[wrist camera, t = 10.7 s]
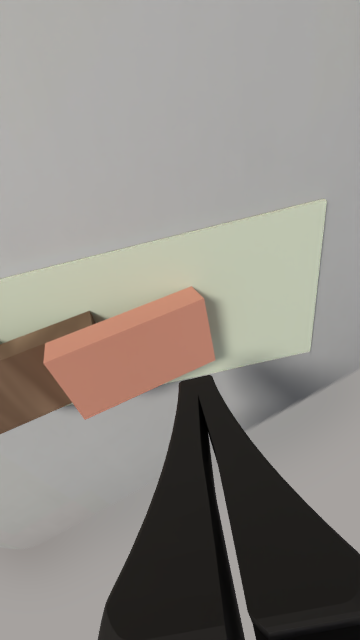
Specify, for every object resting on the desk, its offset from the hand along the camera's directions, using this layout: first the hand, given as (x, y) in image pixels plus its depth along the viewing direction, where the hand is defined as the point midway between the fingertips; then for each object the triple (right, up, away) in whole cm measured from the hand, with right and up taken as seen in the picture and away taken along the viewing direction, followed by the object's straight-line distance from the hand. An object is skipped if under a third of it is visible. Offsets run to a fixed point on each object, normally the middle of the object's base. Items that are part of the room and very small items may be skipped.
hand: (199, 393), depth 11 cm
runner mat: (-10, +1, +5) cm, 12 cm away
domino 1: (-5, +1, +4) cm, 7 cm away
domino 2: (+1, +3, +4) cm, 5 cm away
